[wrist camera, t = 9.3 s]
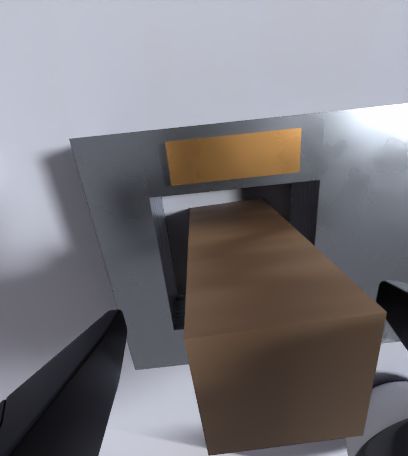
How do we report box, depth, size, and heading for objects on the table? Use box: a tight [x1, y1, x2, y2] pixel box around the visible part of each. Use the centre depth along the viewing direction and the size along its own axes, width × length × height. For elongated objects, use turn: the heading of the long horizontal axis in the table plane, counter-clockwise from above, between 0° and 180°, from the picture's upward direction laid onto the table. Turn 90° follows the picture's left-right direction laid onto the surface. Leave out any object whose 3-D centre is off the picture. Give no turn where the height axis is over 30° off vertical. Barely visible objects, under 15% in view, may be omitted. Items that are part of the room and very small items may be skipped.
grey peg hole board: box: [69, 103, 408, 370], centre depth 12 cm, size 20×12×3 cm, turn 96°
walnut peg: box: [184, 198, 387, 455], centre depth 10 cm, size 4×4×9 cm
